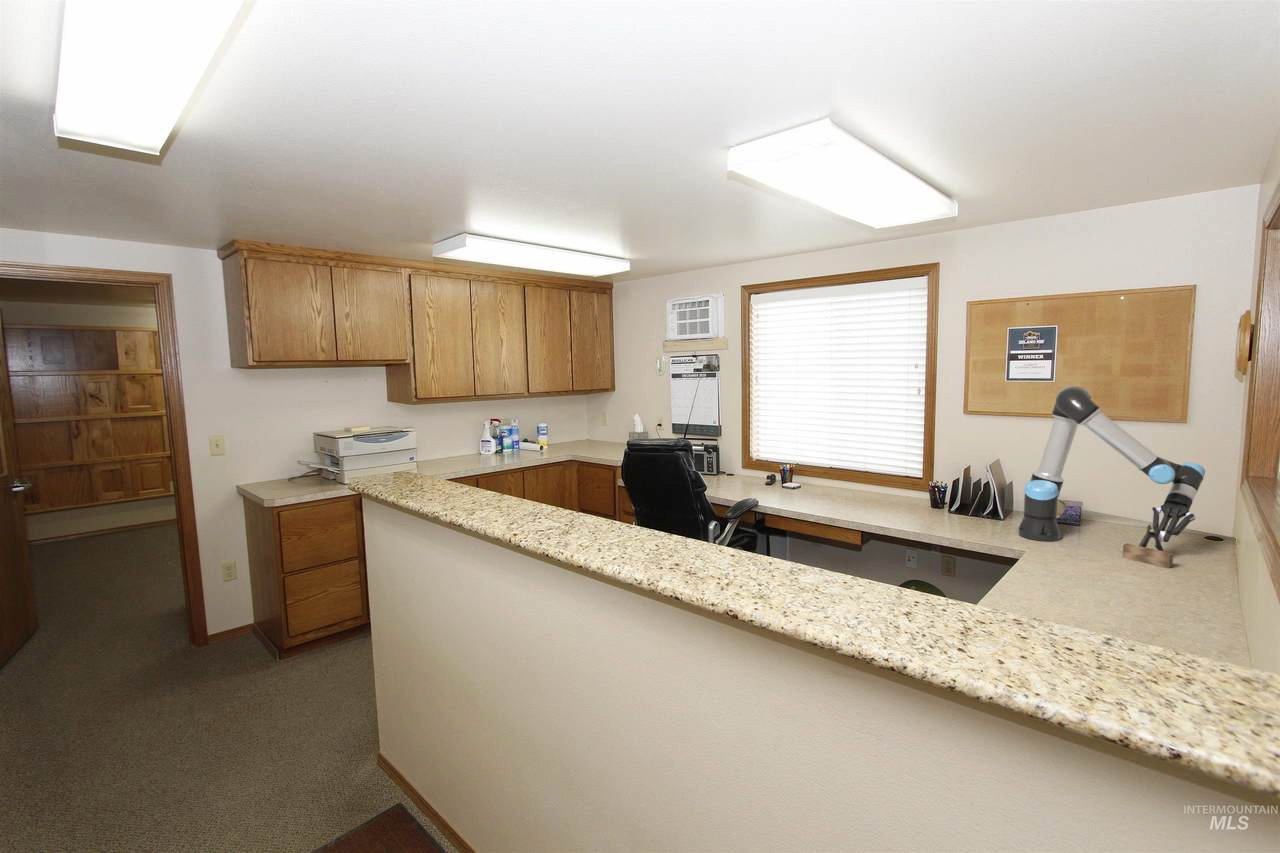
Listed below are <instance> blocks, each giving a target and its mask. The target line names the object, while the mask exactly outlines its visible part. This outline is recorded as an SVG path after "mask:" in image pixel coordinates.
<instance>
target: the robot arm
mask: <svg viewBox="0 0 1280 853" xmlns="http://www.w3.org/2000/svg"><path fill="white" fill-rule="evenodd" d="M1051 416H1052V418H1054V419H1053V420H1054V421H1053V423H1052V426H1051V430H1050V432H1049V435H1048V439H1047V441H1046V445H1045V447H1044V451H1043V454H1042V455H1041V456H1042V457H1041V460H1040V463H1039V466H1038V469H1037V470H1036V471H1033V472H1032V475H1031V477H1030V480H1029V481H1027V482H1026V483H1025V486H1024V490H1023V491H1024V500H1023V502H1024V503H1023V504H1024V506H1023V518H1022V520H1021V522H1020V524H1019V526H1018V529H1017V530H1018V531H1017V532H1018V533H1017V534H1018V535H1019V536H1020V537H1022V538H1025V539H1029V540H1031V541H1038V542H1039V541H1040V542H1056V541H1060V540H1061V535H1062V534H1061V533H1062V532H1061V531H1060V527H1059V524H1058V522H1057V514H1058V499H1059V498H1060V494H1061V490H1062V487H1063V484H1064V479H1063V477H1062V473H1063V470H1064V468H1065V464H1066V462H1067V459H1068V455H1069V453H1070V451H1071V447H1072V444H1073V441H1074V438H1075V435H1076V433H1077V432H1076V431H1077V429H1078V426H1081V425H1082V426H1084V427H1086V428H1087V429H1088V430H1090V432H1092V433H1093V434H1094V435H1096V436H1097V437H1098V438H1100V439H1101V440H1102V441H1103V442H1104V443H1106V444H1107V445H1109V446H1110V447H1111V448H1112V449H1113V450H1115V451H1116V452H1117V453H1118V454H1120V455H1121V456H1123V458H1125V459H1126V460H1127V461H1129V462H1130V463H1132V465H1134V466H1135V467H1136V468H1137V469H1138V471H1140V472H1142V473H1144V474H1145V475H1147V476H1148V477H1149V479H1150V480H1151V481H1152V482H1154V483H1156V484H1158V485H1168V484H1170V483H1172V485H1171V487H1170V489H1169V491H1168V494H1167V496H1166V497H1165V499H1164V502H1163V504H1162V505H1161V506H1159V507H1156V506H1155V507H1154V506H1153V507H1152V508H1151V509H1152V511H1153V517H1152V529H1153V532H1154V531H1155V530H1154V525H1155V526H1156V527H1157V530H1158V538H1159V541H1160V544H1161V546H1162V548H1163V547H1164V545H1165V543H1168V542H1169V541H1170V539H1171V537H1172V536H1177V537H1178V536H1179V535H1180V534H1181V533H1182V532H1183V531H1184V530H1185V528H1186V527H1187V526H1189V524H1190V523H1191V522H1193V521H1195V520H1196V517H1195V514H1194V513H1191V512H1190V509H1191V506H1192V505H1193V502H1194V500H1195V497H1196V495H1197V493H1198V490H1199V489H1200V487H1201V484H1202V482H1203V481H1204V478H1205V475H1206V469H1205V468H1204V466H1203V465H1201V464H1198V463H1196V462H1190V461H1189V462H1183V463H1182V464H1178V463H1175V462H1173V461H1170V460H1167V459H1165V458H1162V457H1159V456H1158V455H1157V454H1156V453H1154V452H1153V451H1151V450H1150V449H1149V448H1148V447H1146V446H1145V445H1144V444H1143V443H1141V442H1140V441H1139V440H1138V439H1136V438H1135V437H1134V436H1132V435H1131V434H1129V433H1128V432H1127V431H1126V430H1125V429H1123V428H1122V427H1121V426H1120V425H1118V424H1117V423H1116V422H1114V421H1113V420H1112V419H1111V418H1109V417H1108V416H1107V415H1105V414H1104V413H1103V412H1102V411H1101V407H1100V406H1098V405H1097V404H1096V403H1095V402H1094V401H1093V400H1092V397H1091V395H1090V392H1089V391H1088V390H1086V389H1085V388H1083V387H1080V386H1073V385H1072V386H1067V387H1064V388H1063V389H1061V390H1060V391H1059V392H1058V394H1057V397H1056V398H1055V403H1054V406H1053V409H1052V413H1051ZM1161 512H1162V513H1163V517H1162V519H1161V522H1160V514H1161ZM1180 519H1182V520H1181V521H1180ZM1179 521H1180V522H1179ZM1154 547H1155V550H1158V548H1157V545H1156V541H1155V543H1154Z"/></svg>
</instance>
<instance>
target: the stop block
mask: <svg viewBox="0 0 1280 853" xmlns="http://www.w3.org/2000/svg"><path fill="white" fill-rule="evenodd" d="M1122 558H1123V559H1127V560H1132V561H1136V562H1139V563H1144V564H1149V565H1152V564H1153V566H1156V565H1157V567H1161V568H1166V569H1171V568H1173V565H1174V553H1173V552H1168V551H1165V550H1164V551H1159V550H1158V549H1156V548H1154V549H1153V548H1150V547H1147V546H1146V547H1141V546H1139V545H1136V544H1132V543H1125V544H1123V545H1122Z"/></svg>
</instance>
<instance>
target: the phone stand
mask: <svg viewBox="0 0 1280 853" xmlns="http://www.w3.org/2000/svg"><path fill="white" fill-rule="evenodd" d="M1152 529H1153V527H1152V525H1151V524H1148V525H1147V527H1146V533H1145V534H1144V536H1143V538H1142V539H1141V541H1140V542H1139V545H1138V546H1141V547H1146V548H1147V546H1148V544H1149V541H1150V539H1151V538H1153V539H1154V541H1155V542H1156V545H1157V548H1158V549H1157V550H1159V551H1164V552H1165V550H1164V548H1163V547H1162V546H1161V544H1160V541H1159V538H1158V530H1157V527H1156V526H1155V525H1154V529H1153V531H1152ZM1154 530H1155V531H1154Z"/></svg>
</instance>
